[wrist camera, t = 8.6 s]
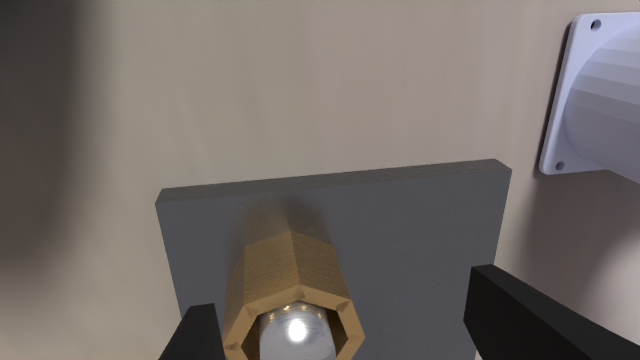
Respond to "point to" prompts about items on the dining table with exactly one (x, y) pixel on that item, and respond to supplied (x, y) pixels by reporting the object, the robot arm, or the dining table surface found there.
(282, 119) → the dining table surface
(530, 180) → the dining table surface
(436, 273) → the plate
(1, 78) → the dining table surface
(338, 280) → the wooden octagonal tube
